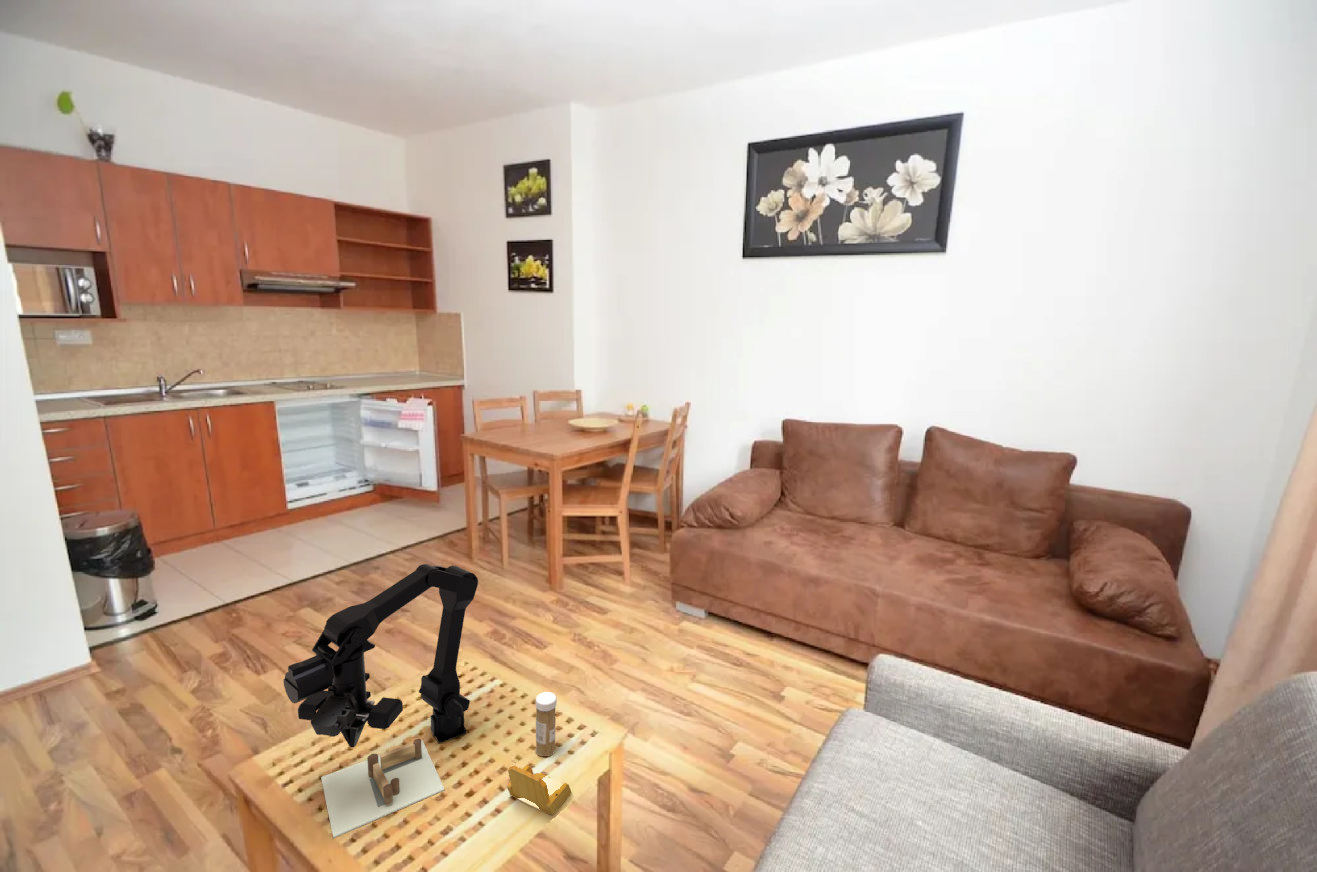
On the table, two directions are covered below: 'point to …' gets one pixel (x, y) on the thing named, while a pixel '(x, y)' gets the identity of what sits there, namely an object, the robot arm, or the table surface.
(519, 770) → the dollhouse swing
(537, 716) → the sprinkles bottle
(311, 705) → the robot arm
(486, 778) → the table surface
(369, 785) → the card
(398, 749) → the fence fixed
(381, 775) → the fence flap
